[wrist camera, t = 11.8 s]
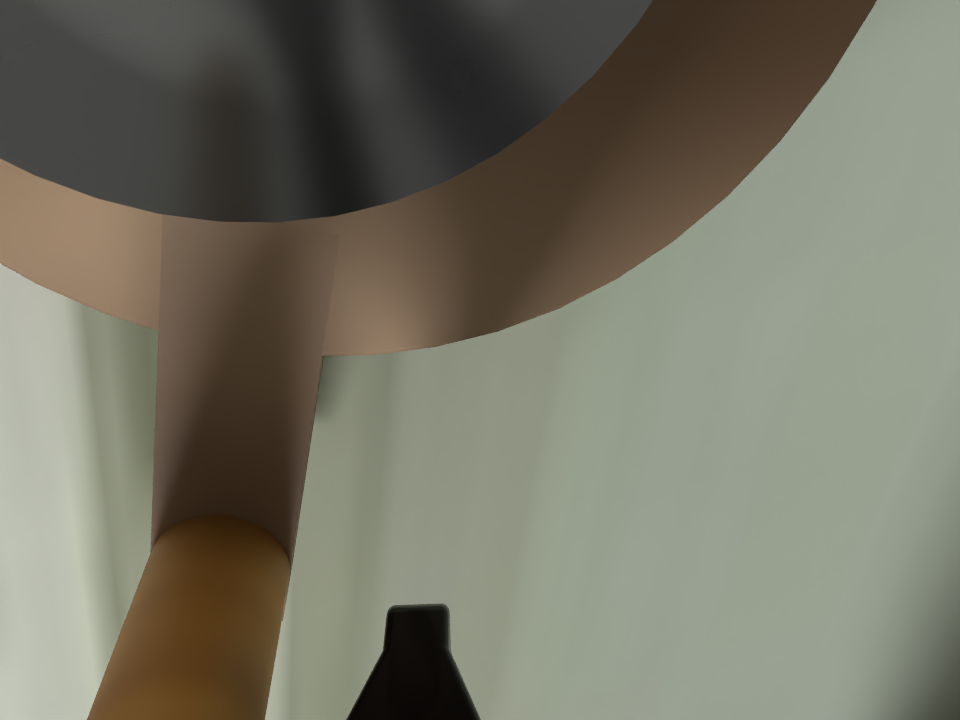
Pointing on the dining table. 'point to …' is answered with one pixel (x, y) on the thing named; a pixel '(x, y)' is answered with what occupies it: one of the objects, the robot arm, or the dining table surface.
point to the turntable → (387, 306)
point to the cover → (284, 95)
